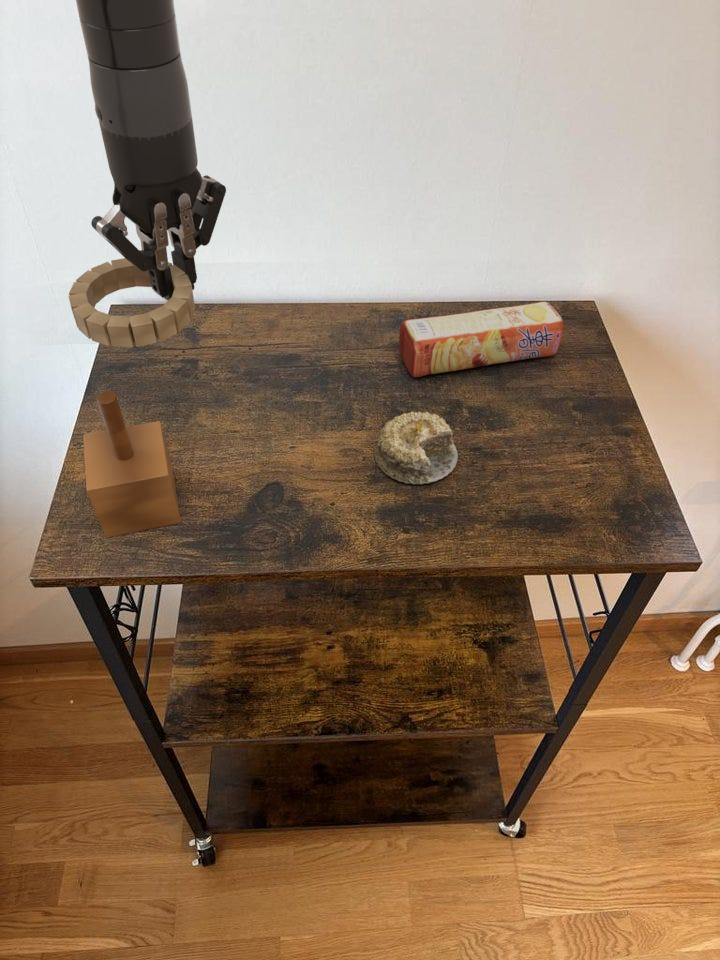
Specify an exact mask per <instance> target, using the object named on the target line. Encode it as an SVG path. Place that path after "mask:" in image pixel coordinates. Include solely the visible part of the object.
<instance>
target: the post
mask: <svg viewBox="0 0 720 960" xmlns="http://www.w3.org/2000/svg"><path fill="white" fill-rule="evenodd" d="M117 397H118V396H117V395H116V393H115V392H114V391H112V390H104V391H101V392H100V393H98V394H97V396H96V403H97V406H98V408H99V411H100V413H101V417H102V420H103V422H104V425H105V428H106V430H101V431H100V430H99V431H94V432H90V433H89V432H88V433H84V434H83V435H82V437H83V454H84V469H85V470H84V471H85V485H86V492H87V495H88V498H89V500H90V502H91V505H92V507H93V510H94V512H95V514H96V517H97V519H98V522H99V524H100V527H101V529H102V532H103V534H104V537H105V539H108V538H115V537H119V536H123V535H128V534H132V533H137V532H143V531H147V530H151V529H157V528H161V527H168V526H171V525H172V526H173V525H176V524H180V523H182V518H181V511H180V506H179V499H178V492H177V487H176V483H175V482H176V481H175V474H174V469H173V465H172V461H171V458H170V454H169V450H168V446H167V443H166V438H165V434H164V431H163V425H162V422H161V420H157V421H151V422H145V423H140V424H134V425H128V426H126V423H125V420H124V417H123V413H122V411H121V407H120V403H119V401H118V398H117Z"/></svg>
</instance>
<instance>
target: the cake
mask: <svg viewBox="0 0 720 960" xmlns="http://www.w3.org/2000/svg"><path fill="white" fill-rule="evenodd" d="M453 434H454V432H453V430H452V429H451V428H450V425H449V424H447V420H445V419H444V418H443V417H441V416H440V415H438V414H436V413H433V414H431V413H429V411H425V412H421V411H418V412H417V411H410V412H404V413H402V414H400V415H397V416H394V417H393V419H392V420H389V421H387V422H386V423H385V424H384V426H383V427H381V429H380V431H379V435H378V437H377V443H376V444H375V448H374V455H373V456H374V461H375V462H376V464H377V467H378V468H380V470H381V471H382V473H384V474H385V475H386V476H387V477H389V478H391V479H393V480H396V481H397V482H400V483H404V484H406V485H408V484H410V485H425V484H426V485H428V484H430V483H435V482H437V481H439V480H442V479H444V478H446V477H447V476H449V475H450V473H452V472H454V471H453V470H454V469H456V466H457V464H458V459H459V456H458V455H459V452H458V450H457V447H456V445H455V444H454V443H455V440H453Z"/></svg>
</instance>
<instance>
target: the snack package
mask: <svg viewBox="0 0 720 960" xmlns="http://www.w3.org/2000/svg"><path fill="white" fill-rule="evenodd" d="M564 326H565V324H564V320H563V318H562V317H561V315H560V314H559V312H558V311H557V310H556V309H555V307H554V306H553V305H551V304H550V303H549V302H547V301H538V302H533V303H532V302H531V303H525V304H518V305H514V306H505V307H497V308H489V309H482V310H481V309H480V310H475V311H468V312H461V313H454V314H447V315H446V314H445V315H437V316H436V315H435V316H429V317H421V318H412V319H411V318H409V319H405V320H404V321H402V322H401V324H400V328H399V334H398V335H399V337H398V338H399V339H398V342H399V350H400V355H401V358H402V361H403V363H404V365H405V367H406V369H407V371H408V373H409V374H410V376H412V377H413V378H421V377H424V376H429V375H435V374H443V373H449V372H455V371H463V370H467V369H468V370H469V369H474V368H479V367H484V366H490V365H497V364H503V363H509V362H516V361H522V360H529V359H537V358H548V357H551V356H554V355H556V353H557V352H558V350H559V349H560V345H561V342H562V338H563V336H564V328H565V327H564Z"/></svg>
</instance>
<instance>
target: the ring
mask: <svg viewBox="0 0 720 960" xmlns="http://www.w3.org/2000/svg"><path fill="white" fill-rule="evenodd" d="M168 266H169V267H170V269H171V275H172V283H173V288H174V292H173V295H172V297H171V298H170V299H169V300H168V301H167V300H166V302H165V303H164V304H163V305H161V306H159V307H157V308H154V309H152V310H150V311H148V312H144V313H140V314H135V315H112V314H109V313H106V312H103V311H99V310H98V309H96V306H97V304H98V303H99V302H101V301H102V300H103V299H104V298H105V297H106V296H109V295H111V294H113V293H115V292H117V291H120V290H126V289H129V288H136V287H139V288H140V287H141V288H142V287H143V288H152V286H151V281H150V277H149V272H148V270H147V271H141V270H140V269H139V268H137V267H136V266H135V265H133V264H132V263H131V262H129V261H128V260H127V259H126V258H125V257H123V258H118V259H112V260H110V262H109V261H105V262H103V263H101V264H98V265H96V266H94V267H91V268H90V270H86V271H85V272H84V273H83V274H81V275H80V276H79V277H78V278H76V279H75V281H74V282H73V284H72V286H71V287H70V290H69V292H68V300H69V305H70V308H71V312H72V315H73V319H74V321H75V324H76V325H75V326H76V327H77V328H78V331H79V332H81V334H83V335H84V336H85V337H86V338H87V339H89V340H90V339H91V342H95V343H98V344H100V345H104V346H107V347H109V346H112V348H134V345H135V347H136V348H140V347H144V346H145V347H146V346H150V345H155V344H157V343H158V342H157V341H159V342H160V343H161V342H163V341H167V340H168V339H169V338H171V337H174V336H176V335H178V332H179V333H181V332H182V331H183V329H184V328H186V326H188V324H189V323H190V322H191V320H192V319H193V316H194V313H195V309H196V306H195V304H196V303H195V299H194V298H195V297H194V290H192V285H191V282H190V280H189V278H188V275H185V272H184V271H182V270H181V269H180V268H178V267H177V266H175V265H173V262H169V261H168Z"/></svg>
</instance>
